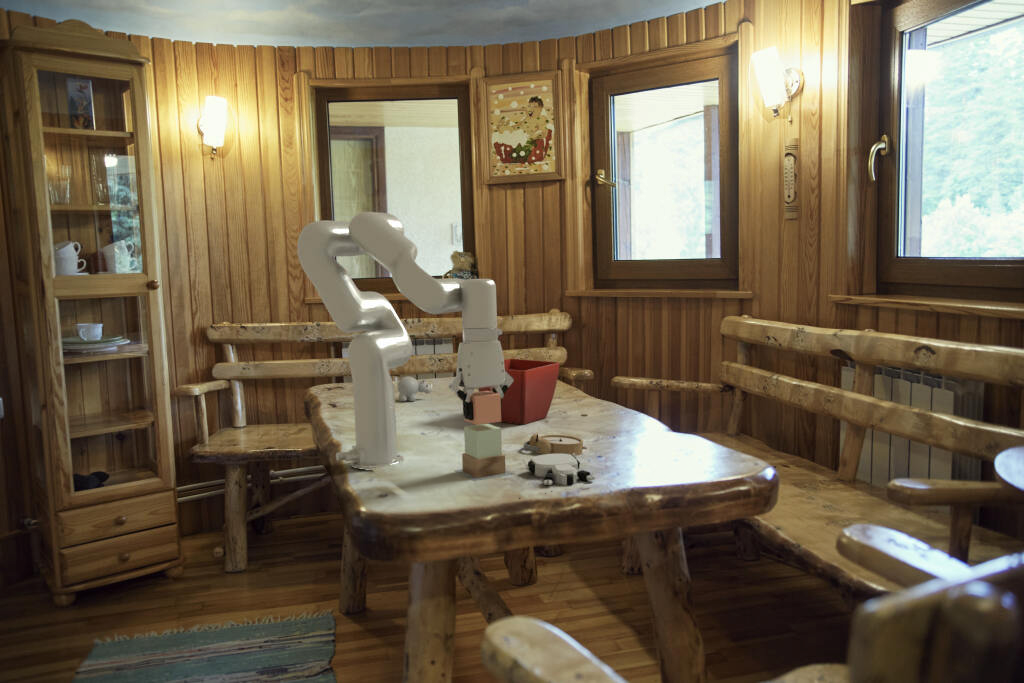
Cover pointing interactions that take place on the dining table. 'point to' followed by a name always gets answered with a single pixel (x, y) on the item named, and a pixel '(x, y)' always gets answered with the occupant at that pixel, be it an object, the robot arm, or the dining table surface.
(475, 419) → the terracotta cube
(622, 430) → the dining table surface
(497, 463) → the walnut block
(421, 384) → the round bodied animal figurine
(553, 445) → the alarm clock
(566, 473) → the robot toy
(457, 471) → the build board
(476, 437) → the sage cube
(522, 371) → the plant pot
